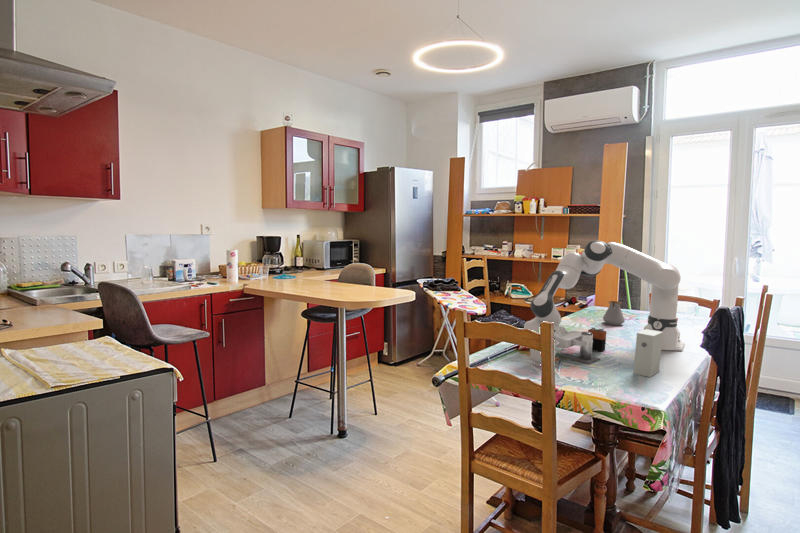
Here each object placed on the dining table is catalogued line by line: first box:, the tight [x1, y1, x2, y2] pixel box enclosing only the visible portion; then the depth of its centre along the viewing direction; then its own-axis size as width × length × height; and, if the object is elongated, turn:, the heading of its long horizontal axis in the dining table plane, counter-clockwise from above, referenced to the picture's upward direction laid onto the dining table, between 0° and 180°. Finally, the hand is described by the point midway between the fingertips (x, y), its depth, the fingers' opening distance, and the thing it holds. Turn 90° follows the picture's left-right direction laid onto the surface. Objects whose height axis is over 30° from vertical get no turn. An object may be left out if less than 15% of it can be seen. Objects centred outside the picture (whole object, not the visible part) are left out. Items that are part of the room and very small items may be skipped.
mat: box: [570, 354, 601, 365], centre depth 196 cm, size 10×8×1 cm
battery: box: [587, 327, 607, 353], centre depth 211 cm, size 4×7×10 cm, turn 45°
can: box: [579, 331, 593, 360], centre depth 195 cm, size 5×5×11 cm
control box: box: [633, 329, 663, 378], centre depth 180 cm, size 11×6×16 cm, turn 133°
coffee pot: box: [602, 300, 626, 326], centre depth 262 cm, size 21×12×15 cm, turn 151°
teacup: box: [529, 340, 559, 367], centre depth 188 cm, size 12×15×10 cm
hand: (588, 342), depth 194 cm, fingers open, 5 cm apart
